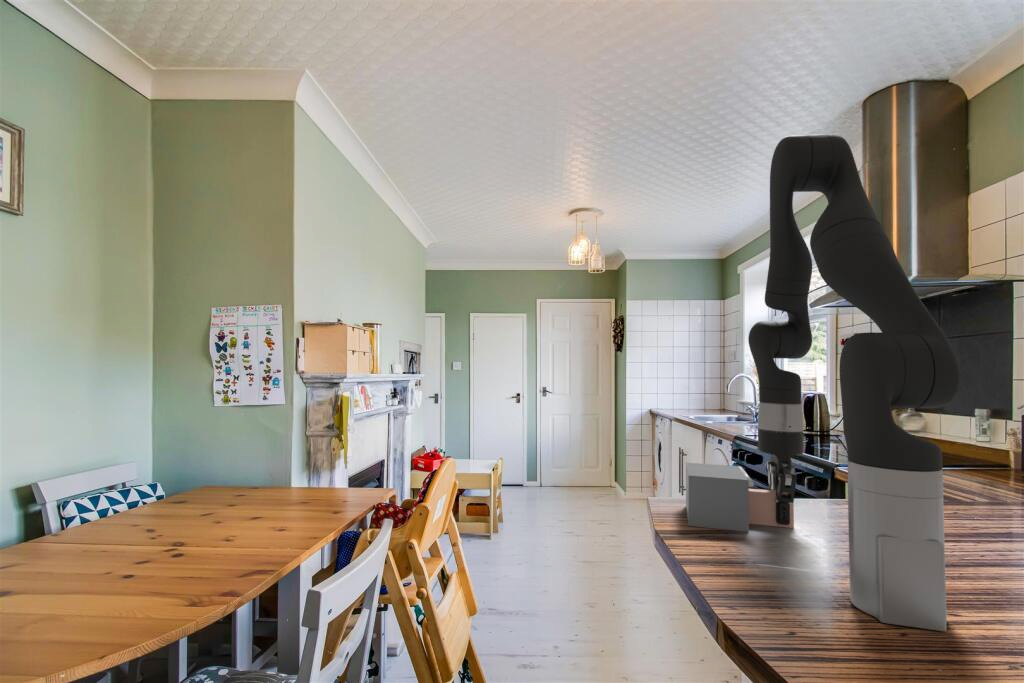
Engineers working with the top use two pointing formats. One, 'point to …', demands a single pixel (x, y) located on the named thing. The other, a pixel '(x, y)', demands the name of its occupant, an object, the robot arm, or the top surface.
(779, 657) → the top surface
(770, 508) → the tan rectangular block
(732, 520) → the grey bevelled box
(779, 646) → the top surface
